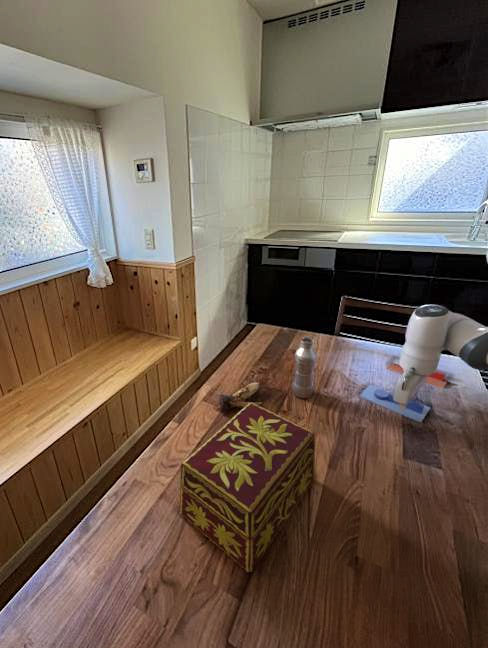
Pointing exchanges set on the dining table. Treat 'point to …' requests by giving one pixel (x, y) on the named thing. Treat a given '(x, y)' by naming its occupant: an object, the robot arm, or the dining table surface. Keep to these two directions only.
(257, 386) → the worn brush
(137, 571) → the dining table surface
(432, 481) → the dining table surface
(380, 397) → the blue spoon
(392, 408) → the blue mat
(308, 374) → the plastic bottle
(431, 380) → the terracotta mat
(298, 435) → the decorative box
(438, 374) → the red spoon
